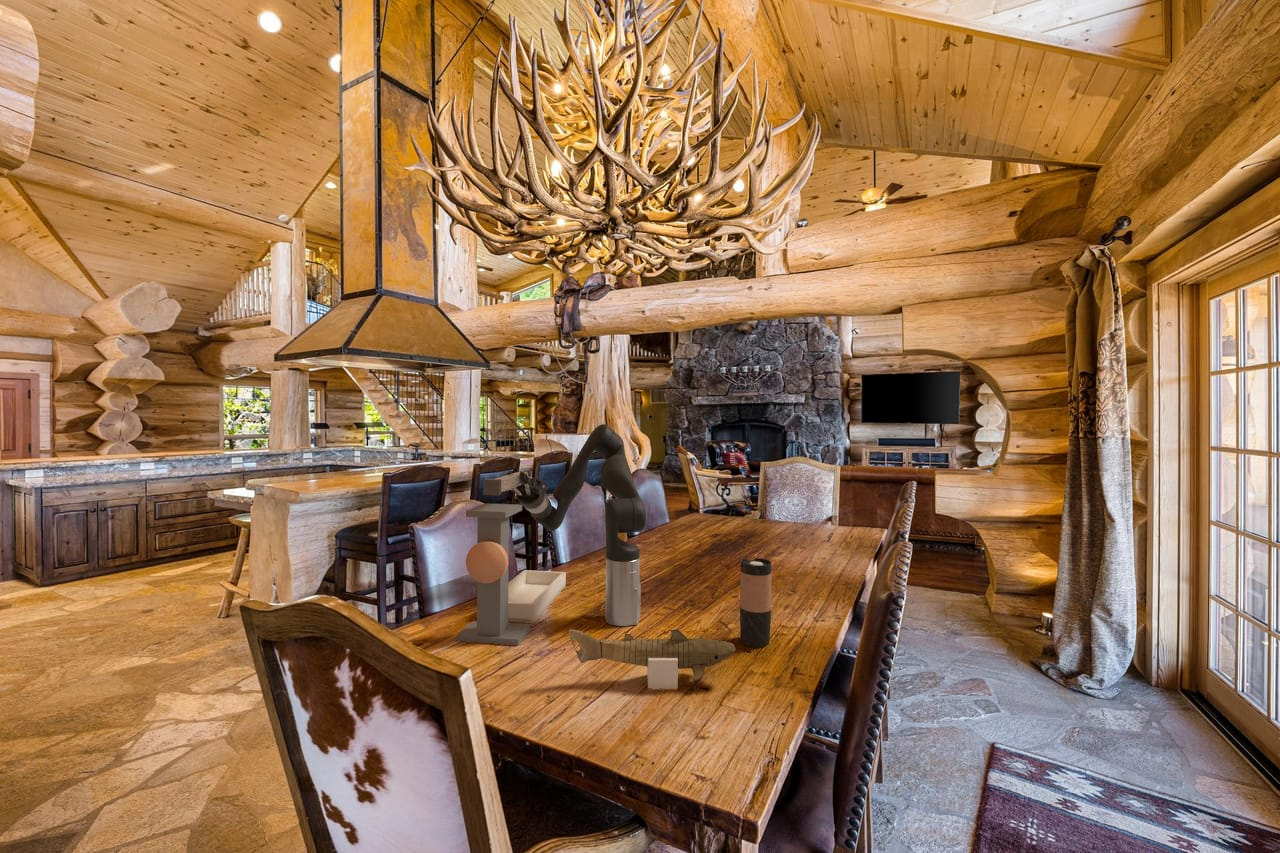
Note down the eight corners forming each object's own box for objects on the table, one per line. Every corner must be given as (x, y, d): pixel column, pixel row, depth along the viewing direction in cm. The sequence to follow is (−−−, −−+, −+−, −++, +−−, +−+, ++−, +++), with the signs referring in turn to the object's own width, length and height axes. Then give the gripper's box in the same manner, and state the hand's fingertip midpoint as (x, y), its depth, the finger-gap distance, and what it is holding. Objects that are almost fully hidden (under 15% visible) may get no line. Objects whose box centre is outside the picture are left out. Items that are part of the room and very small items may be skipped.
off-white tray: (565, 587, 170) (565, 572, 170) (533, 623, 141) (534, 604, 141) (524, 585, 172) (524, 570, 172) (484, 619, 143) (484, 601, 143)
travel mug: (762, 651, 125) (764, 567, 125) (733, 642, 130) (734, 562, 129) (775, 640, 131) (776, 560, 131) (747, 632, 136) (748, 555, 136)
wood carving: (570, 671, 114) (570, 620, 114) (730, 671, 115) (731, 621, 115) (565, 693, 105) (565, 637, 105) (739, 693, 106) (739, 638, 106)
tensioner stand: (532, 629, 137) (533, 505, 136) (516, 647, 126) (517, 512, 125) (474, 625, 139) (474, 503, 138) (453, 642, 128) (454, 510, 128)
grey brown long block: (529, 484, 151) (529, 470, 151) (498, 495, 129) (498, 480, 129) (516, 483, 152) (516, 470, 151) (483, 494, 130) (483, 479, 129)
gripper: (513, 485, 162) (493, 461, 147) (557, 486, 160) (541, 462, 146) (508, 508, 159) (487, 486, 144) (553, 510, 157) (537, 487, 142)
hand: (514, 474), depth 145 cm, fingers closed on grey brown long block, 3 cm apart
